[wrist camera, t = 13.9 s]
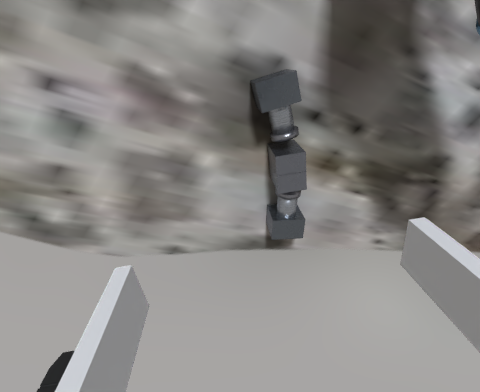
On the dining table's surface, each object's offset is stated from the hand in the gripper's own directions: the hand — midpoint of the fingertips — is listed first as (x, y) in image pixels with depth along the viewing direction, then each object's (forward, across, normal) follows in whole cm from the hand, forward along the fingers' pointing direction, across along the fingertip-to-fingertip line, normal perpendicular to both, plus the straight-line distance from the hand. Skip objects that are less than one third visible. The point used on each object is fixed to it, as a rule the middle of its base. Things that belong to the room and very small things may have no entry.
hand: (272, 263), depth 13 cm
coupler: (+29, +6, -6) cm, 30 cm away
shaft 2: (+29, +6, -13) cm, 32 cm away
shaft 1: (+29, +6, +2) cm, 29 cm away
